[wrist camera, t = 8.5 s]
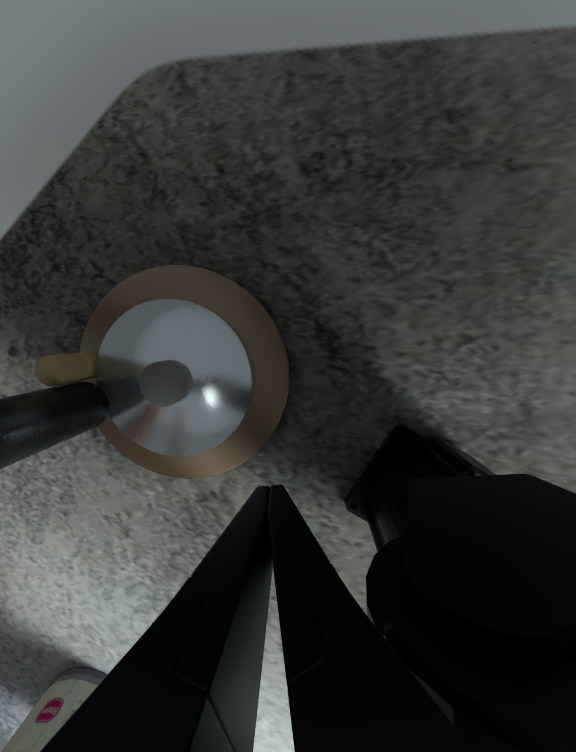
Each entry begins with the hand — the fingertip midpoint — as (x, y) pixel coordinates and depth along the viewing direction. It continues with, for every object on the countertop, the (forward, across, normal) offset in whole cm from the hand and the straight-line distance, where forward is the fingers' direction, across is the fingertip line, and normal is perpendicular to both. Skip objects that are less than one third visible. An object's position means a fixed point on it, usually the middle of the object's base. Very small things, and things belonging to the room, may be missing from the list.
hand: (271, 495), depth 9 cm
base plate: (+10, -5, 0) cm, 11 cm away
